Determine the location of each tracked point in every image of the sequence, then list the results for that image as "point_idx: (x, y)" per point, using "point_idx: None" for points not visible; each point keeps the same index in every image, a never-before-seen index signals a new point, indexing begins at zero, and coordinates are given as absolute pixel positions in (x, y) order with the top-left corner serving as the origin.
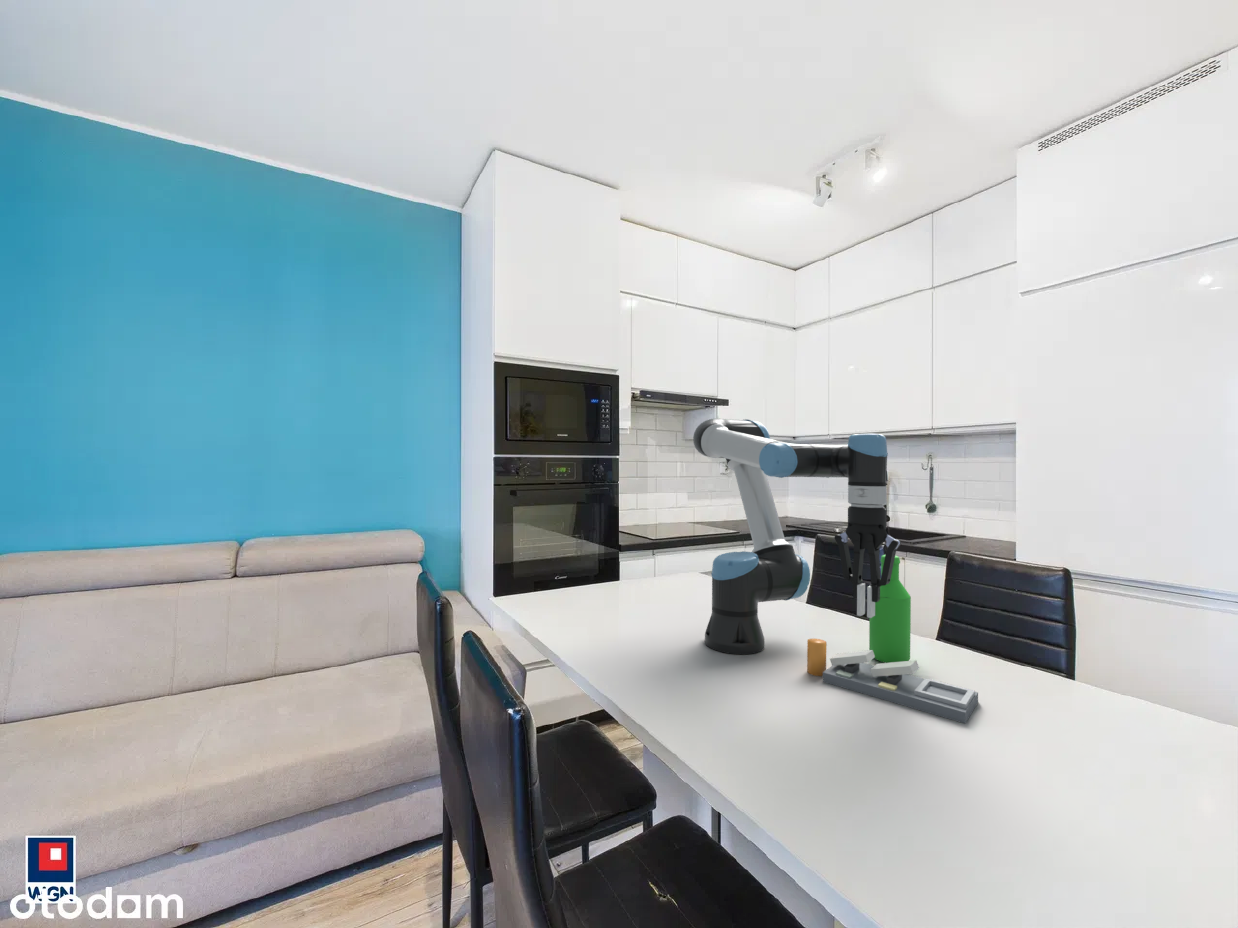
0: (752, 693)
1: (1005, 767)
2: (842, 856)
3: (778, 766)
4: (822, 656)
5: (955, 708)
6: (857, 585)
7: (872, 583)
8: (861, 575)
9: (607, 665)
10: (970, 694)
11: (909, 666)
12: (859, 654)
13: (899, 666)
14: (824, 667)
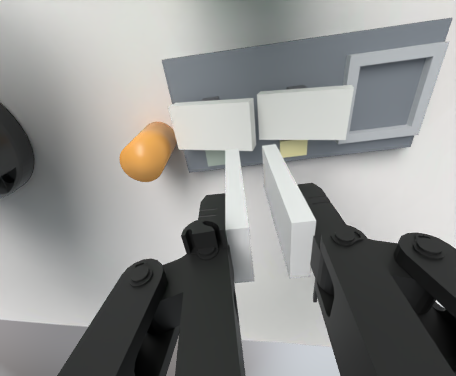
0: (166, 255)
1: (427, 211)
2: (326, 337)
3: (265, 314)
4: (168, 158)
5: (397, 144)
6: (236, 280)
7: (324, 292)
8: (231, 289)
9: (29, 305)
10: (434, 76)
11: (343, 139)
12: (233, 139)
13: (320, 137)
14: (173, 145)
